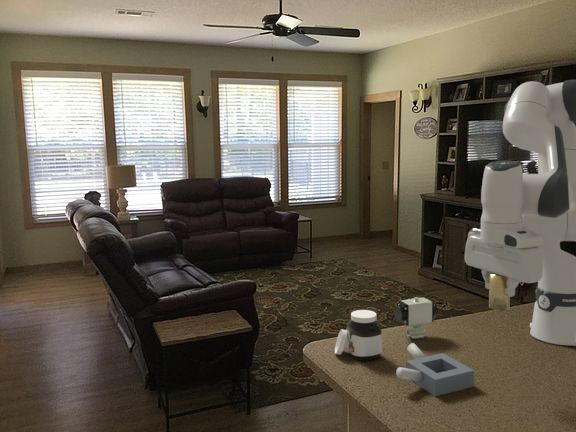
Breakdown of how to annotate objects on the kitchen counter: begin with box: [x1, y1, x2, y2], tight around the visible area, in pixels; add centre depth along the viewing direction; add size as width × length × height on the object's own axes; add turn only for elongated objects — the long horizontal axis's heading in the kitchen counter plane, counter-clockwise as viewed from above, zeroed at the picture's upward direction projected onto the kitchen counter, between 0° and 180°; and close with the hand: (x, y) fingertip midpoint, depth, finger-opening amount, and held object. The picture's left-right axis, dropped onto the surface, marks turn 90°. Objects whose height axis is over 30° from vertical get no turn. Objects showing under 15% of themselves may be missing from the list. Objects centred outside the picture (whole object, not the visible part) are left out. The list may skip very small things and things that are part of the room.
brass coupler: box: [488, 272, 511, 311], centre depth 116 cm, size 4×4×8 cm
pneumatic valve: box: [394, 296, 439, 340], centre depth 148 cm, size 6×12×12 cm, turn 106°
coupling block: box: [395, 342, 475, 397], centre depth 122 cm, size 17×17×6 cm
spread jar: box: [334, 309, 383, 361], centre depth 136 cm, size 12×11×12 cm
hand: (499, 292), depth 116 cm, fingers closed on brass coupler, 4 cm apart
